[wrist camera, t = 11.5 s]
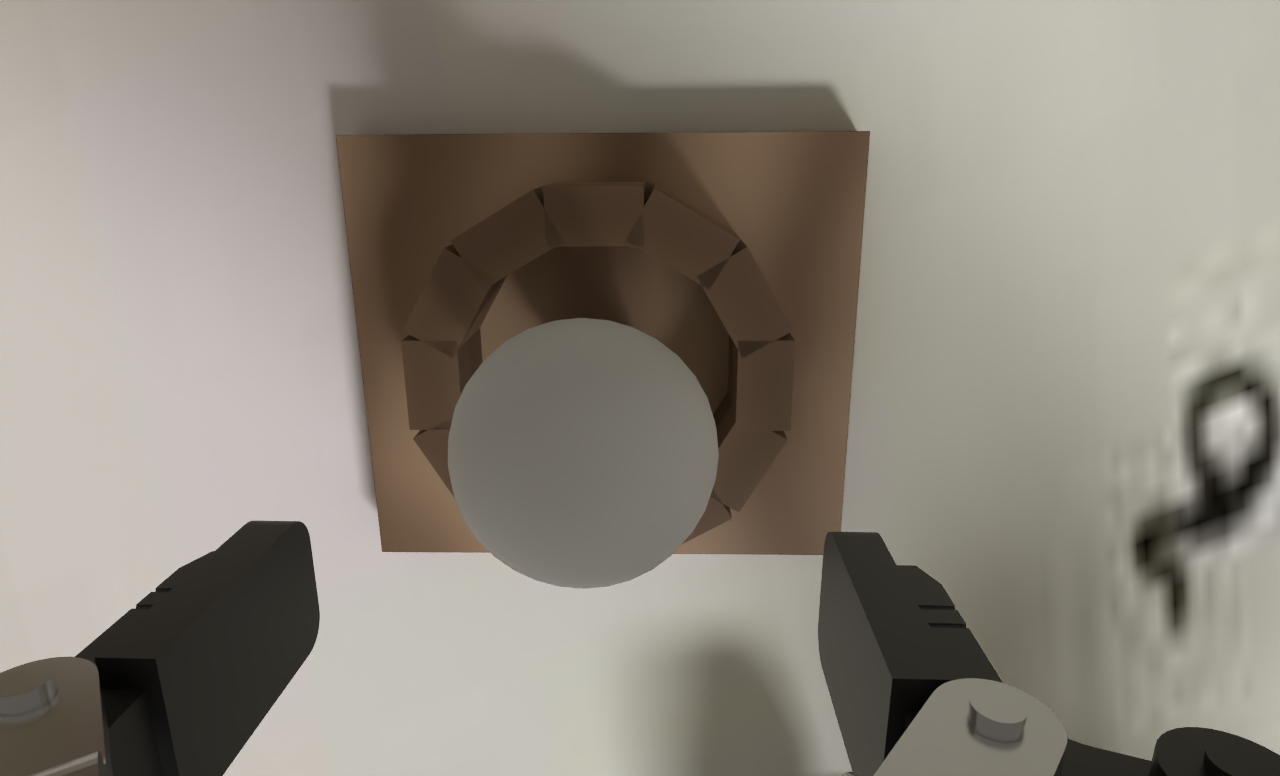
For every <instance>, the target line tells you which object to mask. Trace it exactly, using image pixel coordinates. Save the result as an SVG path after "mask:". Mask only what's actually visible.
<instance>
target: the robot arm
mask: <svg viewBox="0 0 1280 776" xmlns="http://www.w3.org/2000/svg"><path fill="white" fill-rule="evenodd" d="M319 619H320V613H319V604H318V596H317V589H316V581H315V573H314V566H313V558H312V550H311V543H310V536H309V533H308V530H307V528H306V526H305V525H304V524H303V523H302V522H299V521H250V522H248V523H247V524H245V525H244V526H243V527H242V528H241V529H240V530H238V531H237V532H236V533H235V534H234V535H233V536H232V537H230V538H229V539H228V540H227V541H226V542H225V543H224V544H223V545H221V546H220V547H219V548H218V549H217V550H216V551H212V552H210V553H208V554H206V555H204V556H202V557H200V558H198V559H197V560H195V561H193V562H191V563H189V564H187V565H185V566H183V567H181V568H179V569H178V570H177V571H175V572H174V573H173V574H172V575H171V576H169V577H168V578H167V579H166V580H165V581H164V582H162V583H161V584H160V585H159V586H158V587H157V588H156V591H155V592H151V593H149V594H148V595H147V596H146V597H145V598H144V599H142V600H141V601H140V602H139V603H138V604H137V606H136V609H131V610H130V611H128V612H127V613H126V614H125V615H124V616H122V617H121V618H120V619H119V620H118V621H117V622H115V623H114V624H113V625H112V626H111V627H110V628H108V629H107V630H106V631H105V632H104V633H102V634H101V635H100V636H99V637H98V638H97V639H95V640H94V641H93V642H92V643H91V644H90V645H88V646H87V647H86V648H85V649H84V650H82V651H81V652H80V653H79V654H78V655H77V656H75V657H57V658H49V659H43V660H38V661H34V662H30V663H27V664H24V665H20V666H17V667H14V668H12V669H9V670H7V671H4V672H2V673H0V776H222V775H223V774H224V773H225V771H226V770H227V768H228V767H229V766H230V764H231V763H232V761H233V760H234V759H235V757H236V756H237V755H238V753H239V752H240V750H241V749H242V748H243V746H244V745H245V743H246V742H247V741H248V739H249V738H250V736H251V735H252V734H253V732H254V731H255V729H256V728H257V727H258V725H259V724H260V722H261V721H262V720H263V718H264V717H265V715H266V714H267V713H268V711H269V710H270V708H271V707H272V706H273V704H274V703H275V702H276V700H277V699H278V697H279V696H280V695H281V693H282V692H283V690H284V689H285V688H286V686H287V685H288V683H289V682H290V681H291V679H292V678H293V676H294V675H295V674H296V672H297V671H298V669H299V668H300V667H301V665H302V664H303V662H304V661H305V660H306V658H307V657H308V655H309V654H310V652H311V651H312V649H313V647H314V644H315V641H316V638H317V634H318V629H319ZM818 640H819V652H820V660H821V665H822V669H823V672H824V675H825V679H826V682H827V686H828V689H829V692H830V696H831V699H832V703H833V706H834V710H835V713H836V716H837V720H838V723H839V727H840V730H841V734H842V737H843V740H844V744H845V747H846V751H847V754H848V758H849V761H850V764H851V768H852V771H853V773H852V772H847V773H846V774H844V775H843V776H1280V755H1278V754H1276V753H1274V752H1273V751H1271V750H1269V749H1267V748H1265V747H1263V746H1261V745H1259V744H1257V743H1254V742H1252V741H1250V740H1247V739H1245V738H1242V737H1239V736H1236V735H1233V734H1230V733H1226V732H1223V731H1218V730H1213V729H1207V728H1199V727H1184V728H1176V729H1173V730H1170V731H1167V732H1166V733H1164V734H1162V735H1161V736H1160V737H1159V739H1158V740H1157V742H1156V745H1155V749H1154V754H1153V758H1152V761H1149V760H1144V759H1140V758H1136V757H1132V756H1128V755H1123V754H1119V753H1115V752H1111V751H1107V750H1103V749H1098V748H1095V747H1091V746H1088V745H1084V744H1081V743H1078V742H1075V741H1073V740H1070V739H1068V738H1067V732H1066V730H1065V727H1064V725H1063V723H1062V722H1061V720H1060V718H1059V717H1058V716H1057V715H1056V714H1055V713H1054V711H1053V710H1051V709H1050V708H1049V707H1048V706H1047V705H1046V704H1045V703H1043V702H1042V701H1040V700H1039V699H1037V698H1036V697H1034V696H1032V695H1031V694H1029V693H1027V692H1025V691H1023V690H1021V689H1018V688H1016V687H1013V686H1011V685H1008V684H1005V683H1002V681H1001V679H1000V678H999V676H998V675H997V673H996V671H995V670H994V668H993V667H992V665H991V663H990V662H989V660H988V659H987V657H986V655H985V654H984V652H983V650H982V649H981V647H980V646H979V644H978V642H977V641H976V639H975V638H974V636H973V634H972V633H971V631H970V630H969V628H966V623H965V622H964V620H963V618H962V617H961V615H960V614H959V612H958V610H955V605H954V604H953V602H952V601H951V599H950V597H949V596H948V594H947V593H946V591H945V589H944V588H943V586H942V585H941V584H940V583H939V582H937V581H936V580H935V579H933V578H932V577H930V576H929V575H928V574H926V573H925V572H924V571H922V570H921V569H919V568H918V567H917V566H901V565H896V563H895V562H894V560H893V558H892V556H891V554H890V552H889V551H888V549H887V547H886V545H885V543H884V541H883V539H882V538H881V536H880V534H879V533H872V532H828V533H827V535H826V538H825V544H824V554H823V568H822V581H821V595H820V608H819V622H818Z"/></svg>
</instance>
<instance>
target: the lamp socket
mask: <svg viewBox="0 0 1280 776" xmlns="http://www.w3.org/2000/svg"><path fill="white" fill-rule="evenodd" d="M869 137H870V131H844V132H706V133H568V134H430V135H336V141H337V150H338V159H339V168H340V177H341V186H342V195H343V204H344V213H345V222H346V231H347V240H348V249H349V258H350V267H351V276H352V285H353V294H354V303H355V312H356V321H357V330H358V339H359V348H360V357H361V366H362V375H363V384H364V393H365V402H366V411H367V420H368V429H369V438H370V446H371V455H372V464H373V473H374V482H375V491H376V500H377V509H378V518H379V527H380V536H381V545H382V552H489V551H488V550H487V549H486V548H485V547H484V546H483V545H482V544H481V543H480V542H479V540H478V539H477V538H476V537H475V535H474V534H473V532H472V531H471V529H470V528H469V526H468V525H467V523H466V522H465V520H464V518H463V516H462V514H461V511H460V509H459V507H458V504H457V502H456V499H455V497H454V493H453V489H452V484H451V479H450V474H449V469H448V438H449V432H450V428H451V423H452V419H453V414H454V410H455V406H456V404H457V402H458V400H459V398H460V396H461V394H462V391H463V389H464V387H465V385H466V384H467V382H468V381H469V380H470V378H471V377H472V376H473V374H474V373H475V372H476V370H477V369H478V368H479V366H480V365H481V364H482V363H483V361H484V360H485V359H486V358H487V357H488V356H489V355H490V354H492V353H493V352H494V351H495V350H496V349H497V348H499V347H500V346H501V345H502V344H503V343H504V342H506V341H507V340H509V339H511V338H513V337H514V336H516V335H518V334H520V333H522V332H523V331H525V330H527V329H529V328H532V327H535V326H539V325H542V324H545V323H548V322H551V321H556V320H565V319H574V318H589V319H600V320H609V321H613V322H616V323H620V324H623V325H627V326H630V327H633V328H635V329H637V330H639V331H641V332H643V333H645V334H647V335H649V336H651V337H653V338H655V339H657V340H658V341H660V342H661V343H662V344H664V345H665V346H666V347H667V348H669V349H670V350H671V351H672V352H674V353H675V354H676V355H678V356H679V357H680V359H681V360H682V361H683V362H684V363H685V364H686V366H687V367H688V368H689V369H690V370H691V371H692V373H693V374H694V375H695V376H696V378H697V380H698V382H699V384H700V385H701V387H702V389H703V391H704V393H705V394H706V396H707V398H708V401H709V404H710V407H711V411H712V414H713V417H714V420H715V425H716V430H717V440H718V451H719V458H718V466H717V475H716V481H715V483H714V486H713V489H712V492H711V495H710V498H709V501H708V504H707V507H706V510H705V512H704V514H703V515H702V517H701V519H700V520H699V522H698V524H697V525H696V527H695V529H694V531H693V532H692V533H691V534H690V535H689V537H688V538H687V539H686V540H685V541H684V542H683V543H682V544H681V545H680V546H679V548H678V549H677V550H676V551H675V552H674V553H673V554H779V555H823V554H824V544H825V538H826V535H827V533H828V532H841V520H842V506H843V492H844V479H845V465H846V451H847V438H848V424H849V410H850V397H851V383H852V369H853V356H854V342H855V329H856V315H857V301H858V288H859V274H860V260H861V247H862V233H863V219H864V206H865V192H866V178H867V165H868V151H869Z"/></svg>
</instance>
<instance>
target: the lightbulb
mask: <svg viewBox="0 0 1280 776" xmlns="http://www.w3.org/2000/svg"><path fill="white" fill-rule="evenodd" d="M718 458H719V451H718V440H717V430H716V425H715V420H714V417H713V414H712V411H711V407H710V404H709V401H708V398H707V396H706V394H705V393H704V391H703V389H702V387H701V385H700V384H699V382H698V380H697V378H696V376H695V375H694V374H693V373H692V371H691V370H690V369H689V368H688V367H687V366H686V364H685V363H684V362H683V361H682V360H681V359H680V357H679V356H678V355H676V354H675V353H674V352H672V351H671V350H670V349H669V348H667V347H666V346H665V345H664V344H662V343H661V342H660V341H658V340H657V339H655V338H653V337H651V336H649V335H647V334H645V333H643V332H641V331H639V330H637V329H635V328H633V327H630V326H627V325H623V324H620V323H616V322H613V321H609V320H600V319H589V318H574V319H565V320H556V321H551V322H548V323H545V324H542V325H539V326H535V327H532V328H529V329H527V330H525V331H523V332H522V333H520V334H518V335H516V336H514V337H513V338H511V339H509V340H507V341H506V342H504V343H503V344H502V345H501V346H500V347H499V348H497V349H496V350H495V351H494V352H493V353H492V354H490V355H489V356H488V357H487V358H486V359H485V360H484V361H483V363H482V364H481V365H480V366H479V368H478V369H477V370H476V372H475V373H474V374H473V376H472V377H471V378H470V380H469V381H468V382H467V384H466V385H465V387H464V389H463V391H462V394H461V396H460V398H459V400H458V402H457V404H456V406H455V410H454V414H453V419H452V423H451V428H450V432H449V438H448V469H449V474H450V479H451V484H452V489H453V493H454V497H455V499H456V502H457V504H458V507H459V509H460V511H461V514H462V516H463V518H464V520H465V522H466V523H467V525H468V526H469V528H470V529H471V531H472V532H473V534H474V535H475V537H476V538H477V539H478V540H479V542H480V543H481V544H482V545H483V546H484V547H485V548H486V549H487V550H488V551H489V552H490V553H491V554H492V555H493V556H494V557H496V558H497V559H499V560H500V561H502V562H503V563H505V564H506V565H507V566H509V567H510V568H512V569H513V570H515V571H517V572H519V573H521V574H524V575H526V576H528V577H530V578H532V579H534V580H537V581H541V582H545V583H548V584H552V585H556V586H561V587H572V588H595V587H606V586H611V585H614V584H618V583H622V582H625V581H629V580H632V579H634V578H636V577H638V576H640V575H642V574H644V573H646V572H648V571H650V570H652V569H654V568H655V567H656V566H658V565H659V564H660V563H662V562H663V561H664V560H666V559H667V558H668V557H670V556H671V555H672V554H673V553H674V552H675V551H676V550H677V549H678V548H679V546H680V545H681V544H682V543H683V542H684V541H685V540H686V539H687V538H688V537H689V535H690V534H691V533H692V532H693V531H694V529H695V527H696V525H697V524H698V522H699V520H700V519H701V517H702V515H703V514H704V512H705V510H706V507H707V504H708V501H709V498H710V495H711V492H712V489H713V486H714V483H715V481H716V475H717V466H718Z"/></svg>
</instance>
